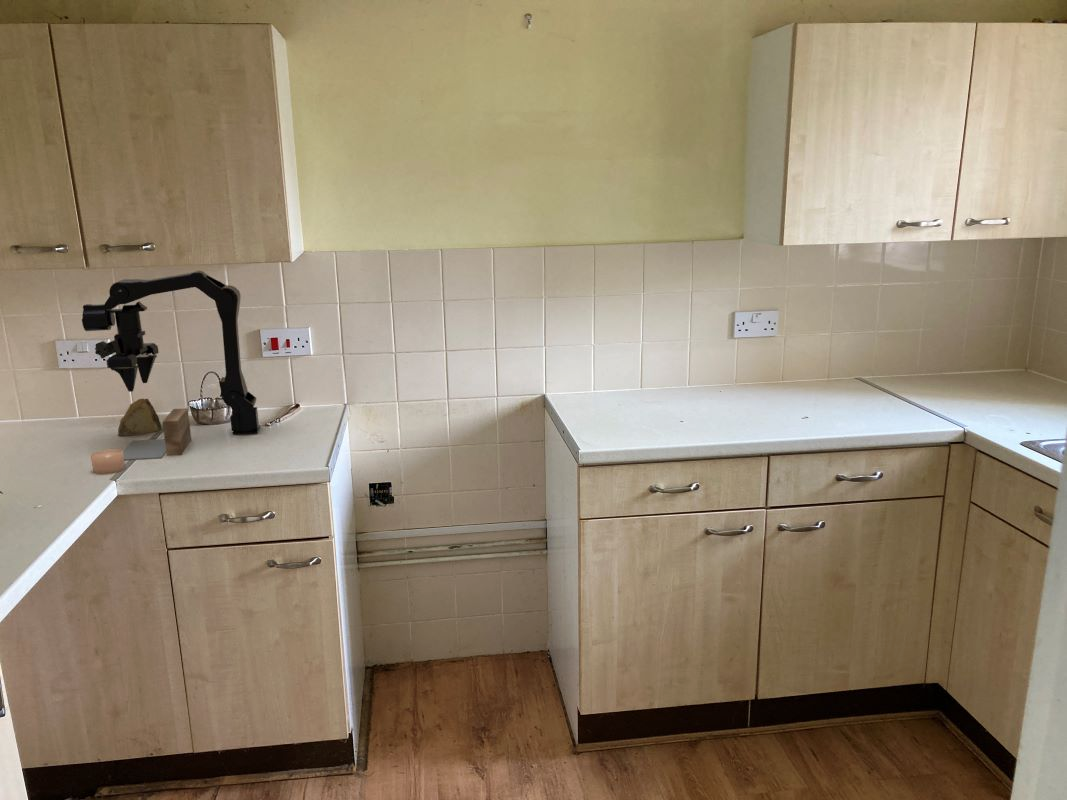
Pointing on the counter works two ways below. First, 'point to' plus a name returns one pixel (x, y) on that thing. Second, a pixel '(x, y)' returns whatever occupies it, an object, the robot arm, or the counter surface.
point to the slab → (177, 431)
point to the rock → (139, 419)
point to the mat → (145, 449)
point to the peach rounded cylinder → (108, 461)
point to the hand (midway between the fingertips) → (138, 387)
